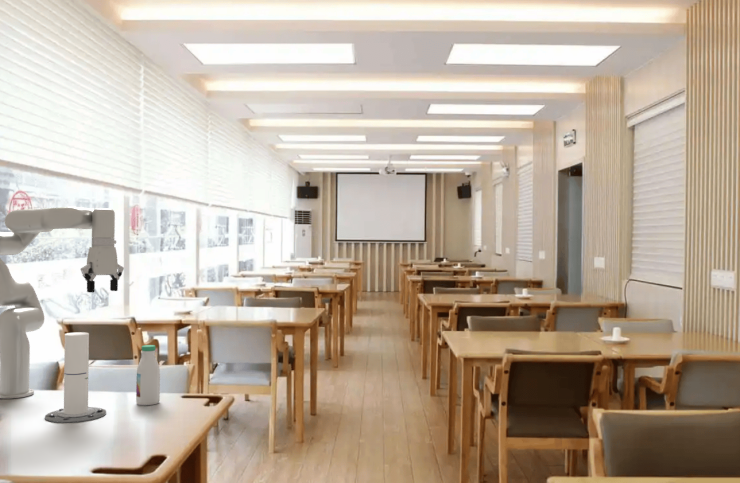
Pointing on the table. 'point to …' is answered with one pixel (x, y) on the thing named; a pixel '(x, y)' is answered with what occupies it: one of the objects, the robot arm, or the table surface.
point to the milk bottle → (148, 378)
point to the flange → (75, 416)
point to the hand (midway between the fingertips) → (102, 291)
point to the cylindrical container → (76, 373)
